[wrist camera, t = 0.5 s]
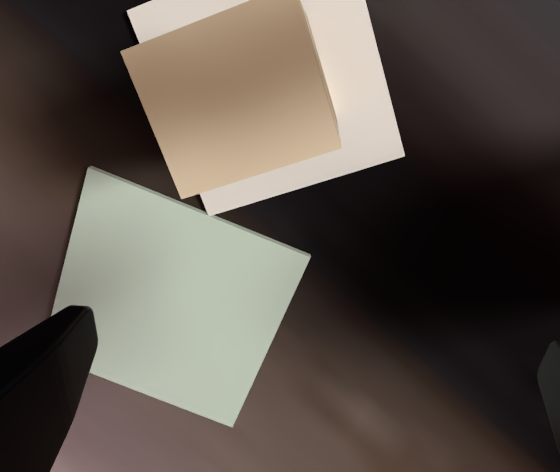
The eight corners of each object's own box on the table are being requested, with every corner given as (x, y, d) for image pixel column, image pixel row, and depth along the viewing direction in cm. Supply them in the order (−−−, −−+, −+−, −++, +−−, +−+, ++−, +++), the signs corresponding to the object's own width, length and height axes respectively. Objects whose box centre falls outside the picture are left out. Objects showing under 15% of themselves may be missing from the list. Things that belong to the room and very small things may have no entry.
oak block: (335, 114, 22) (341, 148, 13) (235, 148, 23) (181, 199, 14) (306, 15, 21) (292, -17, 12) (200, 55, 22) (120, 51, 13)
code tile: (404, 154, 23) (405, 156, 22) (210, 214, 24) (208, 216, 24) (344, -77, 20) (345, -80, 19) (128, 11, 21) (126, 10, 21)
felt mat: (233, 422, 29) (232, 427, 29) (45, 350, 28) (41, 354, 28) (310, 254, 25) (310, 257, 24) (91, 165, 24) (87, 167, 24)
